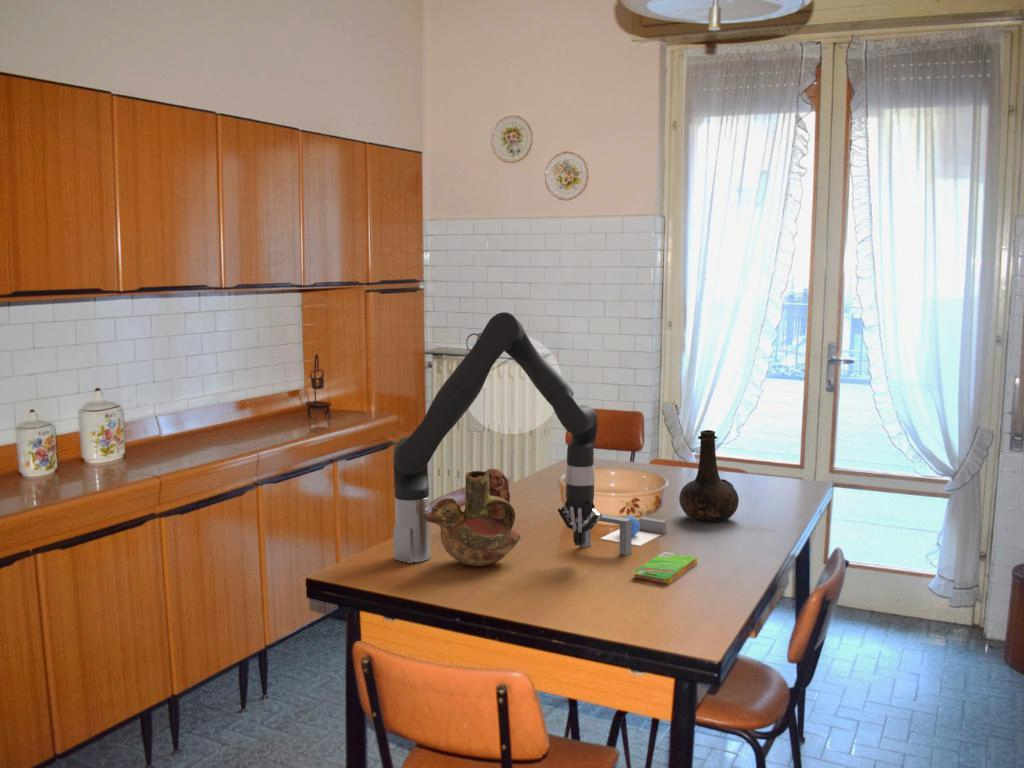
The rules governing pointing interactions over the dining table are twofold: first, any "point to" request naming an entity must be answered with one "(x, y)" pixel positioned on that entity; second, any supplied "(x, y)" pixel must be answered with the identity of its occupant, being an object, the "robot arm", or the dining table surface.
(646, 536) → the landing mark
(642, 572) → the game box
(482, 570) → the dining table surface
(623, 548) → the bridge
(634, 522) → the ball
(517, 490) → the dining table surface
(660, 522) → the wall
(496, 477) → the wooden figurine
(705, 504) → the glass bottle
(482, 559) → the ceramic vessel
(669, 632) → the dining table surface
